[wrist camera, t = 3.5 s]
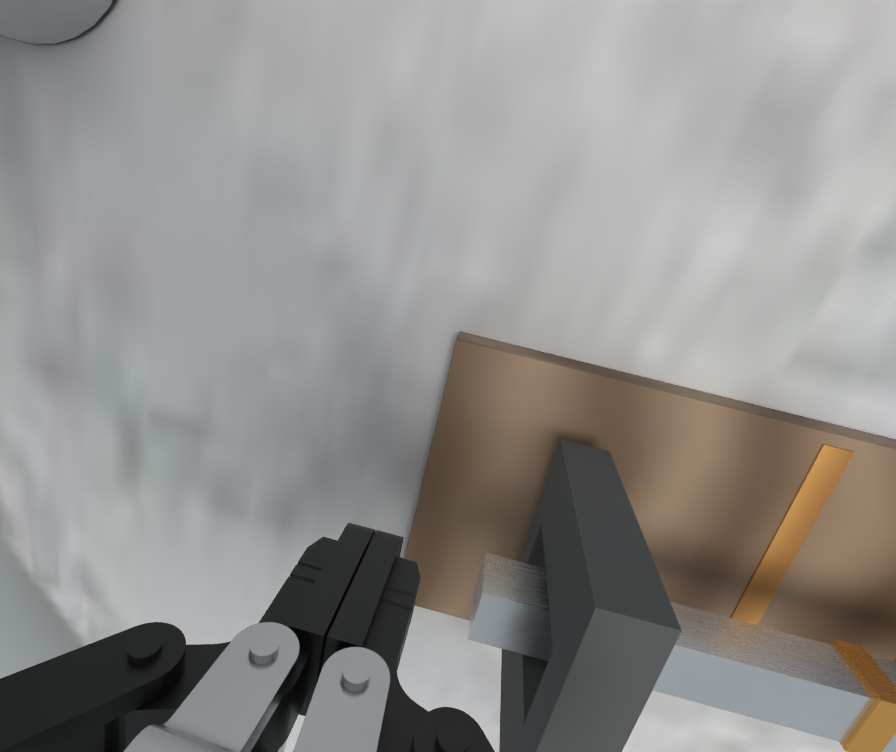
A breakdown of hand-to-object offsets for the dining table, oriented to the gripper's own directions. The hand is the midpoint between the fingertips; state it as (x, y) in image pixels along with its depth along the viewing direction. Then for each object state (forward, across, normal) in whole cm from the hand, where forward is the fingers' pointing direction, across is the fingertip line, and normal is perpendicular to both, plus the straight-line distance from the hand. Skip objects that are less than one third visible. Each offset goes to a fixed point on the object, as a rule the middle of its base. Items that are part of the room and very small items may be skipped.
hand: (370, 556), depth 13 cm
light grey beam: (+5, -13, +3) cm, 15 cm away
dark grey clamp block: (+8, -6, +3) cm, 11 cm away
